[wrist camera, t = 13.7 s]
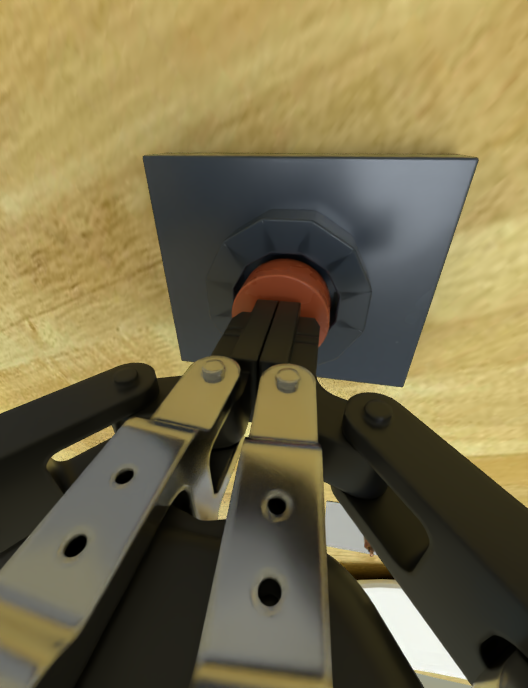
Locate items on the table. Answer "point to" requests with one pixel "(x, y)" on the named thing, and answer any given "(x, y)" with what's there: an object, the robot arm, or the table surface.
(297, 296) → the button
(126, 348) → the table surface
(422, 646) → the plate
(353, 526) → the grey square pad
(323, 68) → the table surface
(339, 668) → the robot arm
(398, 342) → the button box
